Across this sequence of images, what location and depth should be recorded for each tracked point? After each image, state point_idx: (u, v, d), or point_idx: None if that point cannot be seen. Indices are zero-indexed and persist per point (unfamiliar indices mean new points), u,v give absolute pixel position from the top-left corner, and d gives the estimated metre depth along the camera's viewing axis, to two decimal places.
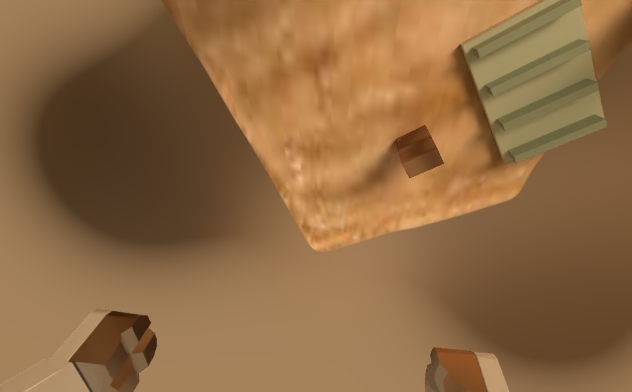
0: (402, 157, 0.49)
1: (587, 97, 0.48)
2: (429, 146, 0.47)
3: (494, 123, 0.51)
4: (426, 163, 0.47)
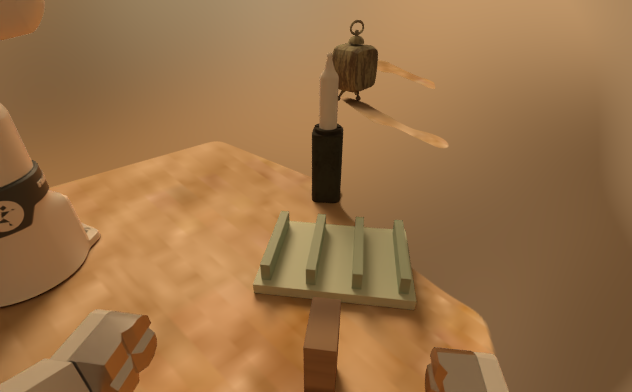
0: (304, 360, 0.27)
1: (372, 233, 0.51)
2: None
3: (355, 291, 0.41)
4: (326, 317, 0.28)
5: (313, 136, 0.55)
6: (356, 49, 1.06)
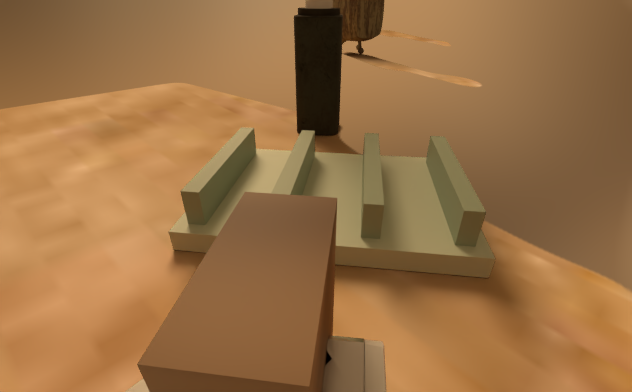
0: None
1: (393, 162, 0.31)
2: None
3: (369, 243, 0.21)
4: (278, 244, 0.07)
5: (296, 19, 0.35)
6: None
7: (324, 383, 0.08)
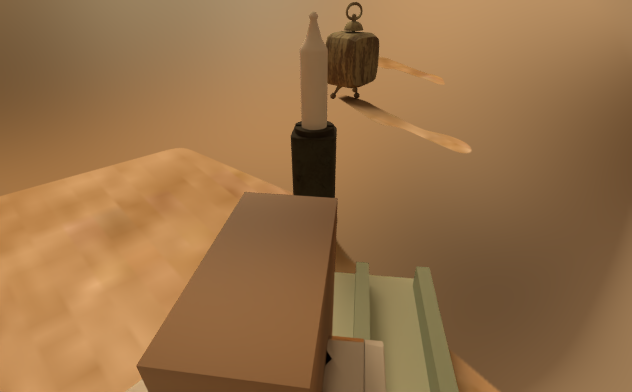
0: None
1: (382, 286, 0.33)
2: None
3: None
4: (279, 244, 0.07)
5: (292, 139, 0.38)
6: (353, 36, 0.89)
7: (324, 383, 0.08)
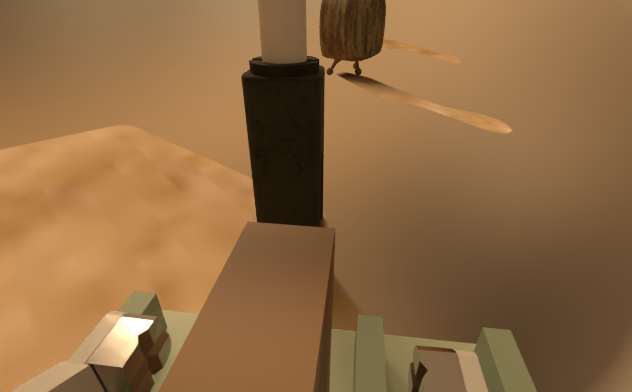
0: None
1: (410, 361, 0.17)
2: None
3: None
4: (280, 278, 0.08)
5: (244, 81, 0.21)
6: None
7: None
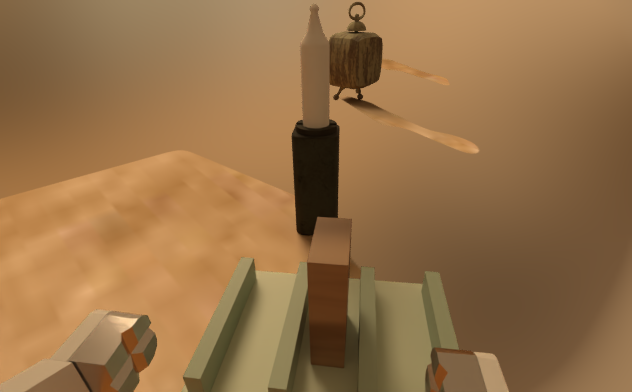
0: (308, 284, 0.22)
1: (389, 292, 0.32)
2: None
3: None
4: (334, 235, 0.23)
5: (293, 138, 0.36)
6: (356, 36, 0.88)
7: None
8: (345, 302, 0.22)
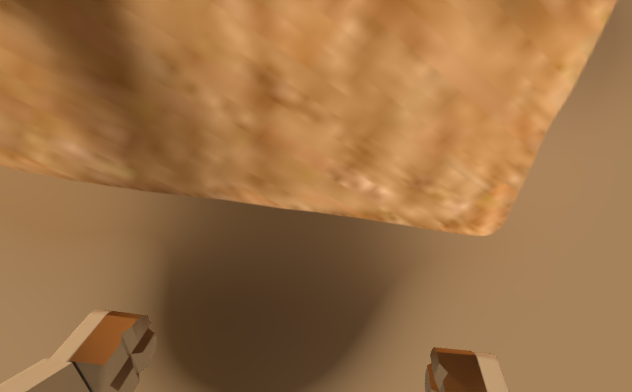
0: None
1: None
2: None
3: None
4: None
5: None
6: None
7: None
8: None
